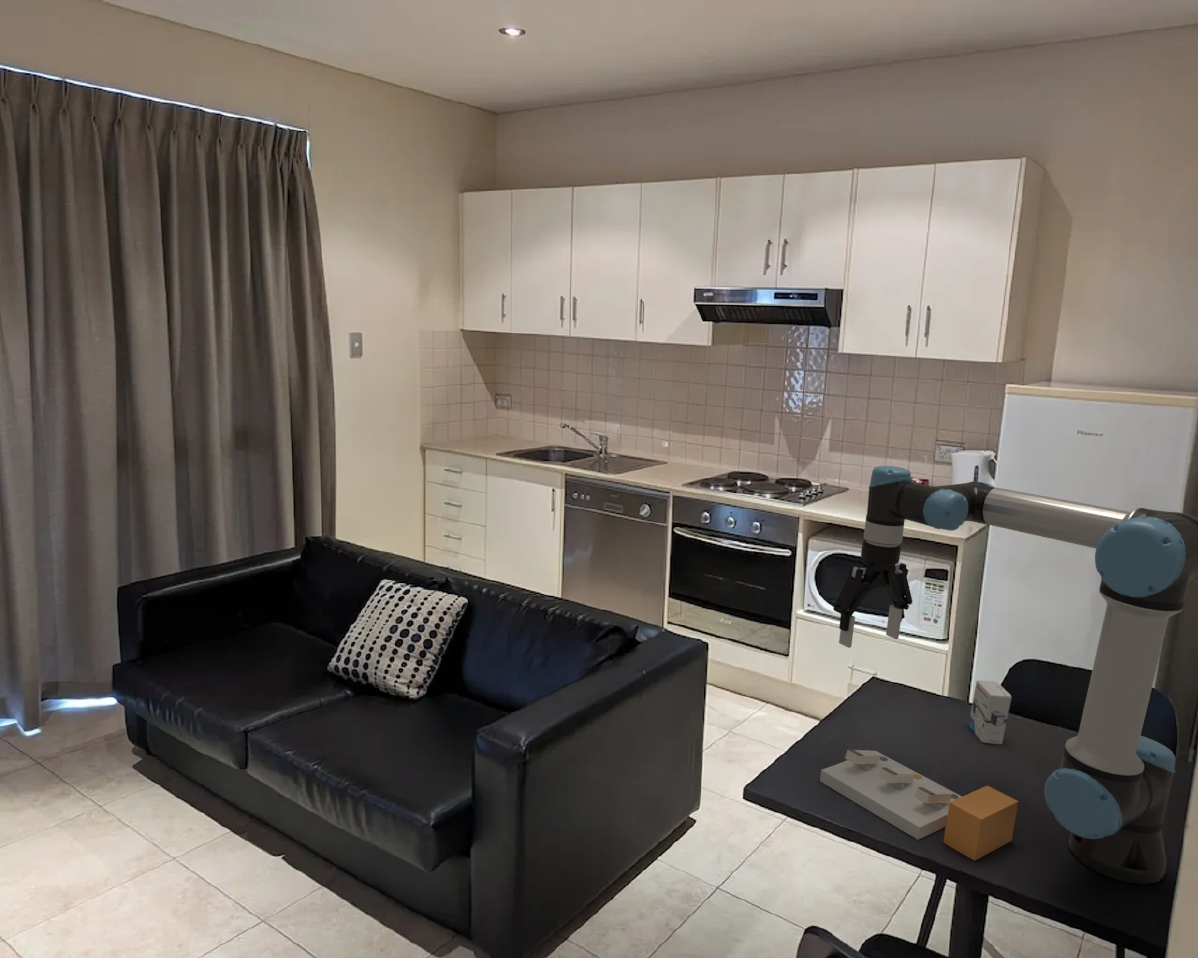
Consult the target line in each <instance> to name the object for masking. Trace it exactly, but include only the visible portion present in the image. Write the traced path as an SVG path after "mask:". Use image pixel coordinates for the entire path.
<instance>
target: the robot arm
mask: <svg viewBox="0 0 1198 958" xmlns="http://www.w3.org/2000/svg"><path fill="white" fill-rule="evenodd" d="M911 473H912V472H911V471H910V470H909V469H906V468H904V467H901V466H894V465H893V466H892V465H878V466H875V467H874V468H873V469H872V472H871V478H870V482H869V486H868V495H867V496H868V499H867V500H868V501H867V509H866V515H865V522H864V523H865V524H864V530H863V539H864V540H862V543H861V552H860V553H861V554H860V558H861V560H862V562H863V564H862V566H861V567H857V566H854V565H851V566H850V567H849V572H848V577H847V580H846V581H845V583H844V585H843V587H842V589H841V591H840V593H839V596H838V598H837V600H836V601H835V603H834V606H833V608H832V610H833V611H834V612H836V613H839V614H840V618H839V619H840V620H839V630H840V631H839V641H838V644H840V645H842V646H845V647H846V648H849V649H850V648H852V643H853V636H854V629H855V622H856V620H855V619H856V616H854V613H855V612H856V610H857V608H859V606H860V605H861V603H862V602H863V600H864V599H865V598H866V596H867V595H868V594H869V593H870V592H872V591H873V589H877V588H880V587H881V588H884V589H885V591H886V594H887V595H888V596H889V599H890V600H891V602H892V604H893V605H889V611H888V615H887V616H888V617H887V625H886V633H885V636H888V637H889V638H892V639H894V640H899V636H900V630H901V623H902V621H903V616H904V615H903V614H904V610H905V611H907V610H909V608H910V605H912V604H913V598H912V594H911V589H910V585H909V581H908V577H907V564H906V563H903V562H901V561H900V559H901V551H902V550H901V549H902V547H901V545H900V544H902V543H903V536H904V530H905V521H910V522H913V523H918V524H922V525H924V526H928V527H931V528H934V529H937V530H945V531H951V532H952V531H955V530H958V529H959V528H960V526H963V524H964V522H973V523H976V524H977V523H978V524H981V525H982V524H983V525H988V526H993V527H996V528H1000V529H1001V528H1002V529H1007V530H1011V531H1015V532H1020V533H1024V534H1030V535H1033V536H1036V537H1037V536H1038V537H1042V538H1047V539H1052V540H1055V541H1059V542H1060V541H1061V542H1064V543H1070V544H1074V545H1079V546H1083V547H1088V548H1092V549H1095V553H1094V563H1095V568H1096V571H1097V573H1099V575H1100V578H1101V579H1100V585H1099V589H1098V590H1099V594H1100V595H1101V597H1102V598H1103V600H1104V601H1105V602H1106V606H1105V607H1106V609H1105V613H1104V618H1103V622H1102V625H1101V630H1100V634H1099V639H1098V644H1097V648H1096V653H1095V658H1094V661H1093V667H1092V672H1091V675H1090V679H1089V685H1088V689H1087V693H1086V698H1085V703H1084V706H1083V710H1082V711H1083V712H1082V714H1081V715H1082V716H1081V720H1080V725H1079V727H1078V734H1077V735H1076V736H1073V737H1071V738H1068V739H1067V740H1066V742H1065V745H1064V750H1063V753H1062V758H1061V763H1060V767H1059V768H1058V769H1056V770H1054V771H1052V772H1051V774H1050V775H1049V776H1048V778H1047V779H1046V781H1045V783H1044V789H1043V790H1044V799H1045V802H1046V805H1047V808H1048V809H1049V810H1050V811H1051V813H1052V814H1053V816H1054V819H1055V820H1056V821H1057V822H1058V823H1059V824H1060V825H1061V826H1062V827H1063V828H1064V829H1066V830H1067V831H1069V832H1070V834H1069V835H1070V836H1069V840H1068V848H1069V849H1070V851H1071V853H1072V854H1073V855H1074V856H1075V857H1076V858H1077V859H1078V861H1079V862H1081V864H1084V865H1085V866H1087V867H1088V868H1090V869H1091V870H1093V871H1095V872H1097V873H1099V874H1100V875H1101V874H1102V875H1103V876H1106V877H1109V878H1111V879H1114V880H1117V881H1121V882H1124V883H1129V884H1134V883H1137V884H1136V885H1149V884H1148V883H1152V882H1155V881H1157V880H1158V879H1160V878H1161V877H1163V875H1164V874H1166V869H1167V856H1166V851H1165V844H1164V839H1163V835H1162V834H1163V833H1162V829H1163V826H1164V825H1163V824H1164V819H1165V815H1166V811H1167V807H1168V801H1169V797H1170V792H1171V787H1172V783H1173V779H1174V774H1176V770H1175V769H1176V768H1175V766H1176V755H1175V754H1174V753H1173V751H1172V750H1171V749H1169V748H1168V747H1167V746H1165V745H1163V744H1162V743H1160V742H1158V741H1156V740H1153V739H1151V738H1148V737H1146V736H1143V735H1142V731H1143V727H1144V722H1145V718H1146V714H1147V709H1148V706H1149V702H1150V698H1151V694H1152V689H1153V685H1154V681H1155V677H1156V673H1157V667H1158V664H1159V660H1160V655H1161V651H1162V647H1163V643H1164V639H1165V635H1166V631H1167V627H1168V623H1169V619H1170V618H1171V617H1172V616H1174V615H1176V614H1177V615H1178V614H1179V613H1180V612H1182V611H1183V610H1184V605H1185V601H1186V597H1187V593H1188V588H1189V585H1190V583H1191V582H1193V581H1196V580H1198V517H1196V516H1193V515H1191V514H1188V513H1185V512H1177V511H1165V510H1157V509H1150V508H1146V507H1145V508H1144V507H1137V508H1135V509H1134V510H1132V511H1128V510H1122V509H1116V508H1111V507H1105V506H1100V505H1094V504H1089V503H1088V504H1087V503H1083V502H1078V501H1072V500H1067V499H1060V498H1056V497H1051V496H1050V497H1049V496H1044V495H1040V494H1034V493H1028V492H1022V491H1016V490H1011V489H1007V488H1000V487H994V486H993V485H992V484H990V483H988V482H983V481H969V482H964V483H956V484H946V485H945V484H943V485H937V486H936V485H935V486H934V485H927V484H922V483H918V482H914V481H911V480H912V478H911V477H912V474H911ZM1164 876H1165V875H1164ZM1139 883H1140V884H1139Z"/></svg>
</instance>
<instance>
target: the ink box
mask: <svg viewBox="0 0 1198 958" xmlns="http://www.w3.org/2000/svg"><path fill="white" fill-rule="evenodd" d="M1011 702H1012V695H1011V694H1010V693H1009V692H1008V691H1007V690H1006V689H1005V688H1004V687H1003V686H1002V685H1001V684H1000V683H999V682H997V681H992V680H991V681H990V680H989V681H988V680H979V679H978V680H976V682H975V688H974V694H973V698H972V704H971V710H970V715H969V721H968V727H969V729H970V730H971V731H972V732H973V733H974V734H975V736H976V737H977V738H978V739H979V740H980V742H981V743H984V744H993V745H1003V741H1004V737H1005V732H1006V728H1007V727H1006V726H1007V720H1008V717H1009V711H1010V706H1011Z"/></svg>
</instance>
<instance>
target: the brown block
mask: <svg viewBox="0 0 1198 958" xmlns="http://www.w3.org/2000/svg"><path fill="white" fill-rule="evenodd" d="M1018 805H1019V800H1017V799H1014V798H1013V797H1011V796H1009V795H1007V794H1005V793H1003V792H1001V791H999V790H997V789H995V788H993V787H991V786H989V785H985V786H983V787H981V788H978V789H976V790H974V791H972V792H969V793H968V794H965V795H962V797H961V798H958V799H956V800H954V801H952V802H950V803H949V810H948V816H947V822H946V827H945V829H944V836H943V842H942V843H943V844H945V845H946V846H948V847H950V848H952V849H953V850H955V851H956V852H959V853H961V854H962V855H964V856H966V857H967V858H969V859H970V860H972V861H976V860H978V859H981V858H982V857H984V856H986V855H989V853H992V852H994V851H995V850H997V849H999V848H1001V847H1004V846H1005V845H1007V844H1008V843H1011V842H1012V841H1013V834H1014V829H1015V824H1016V818H1017V812H1018V807H1019V806H1018Z"/></svg>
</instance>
